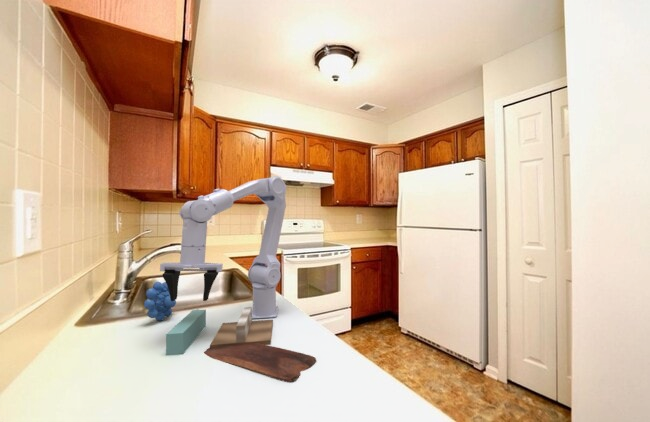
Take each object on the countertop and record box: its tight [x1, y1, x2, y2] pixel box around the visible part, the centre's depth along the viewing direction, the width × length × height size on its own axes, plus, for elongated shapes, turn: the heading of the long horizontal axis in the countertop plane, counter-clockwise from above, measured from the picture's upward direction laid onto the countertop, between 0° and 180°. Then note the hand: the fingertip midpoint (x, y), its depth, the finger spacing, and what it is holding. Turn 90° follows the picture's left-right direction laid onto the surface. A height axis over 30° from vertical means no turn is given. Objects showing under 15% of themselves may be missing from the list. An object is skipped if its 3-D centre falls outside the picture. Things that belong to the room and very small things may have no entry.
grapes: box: [143, 281, 177, 322], centre depth 82 cm, size 12×7×12 cm, turn 170°
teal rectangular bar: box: [165, 309, 207, 356], centre depth 69 cm, size 16×4×5 cm, turn 6°
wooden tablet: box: [203, 343, 317, 383], centre depth 60 cm, size 26×2×10 cm
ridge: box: [209, 306, 274, 349], centre depth 71 cm, size 14×14×5 cm
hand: (189, 300), depth 69 cm, fingers open, 7 cm apart
